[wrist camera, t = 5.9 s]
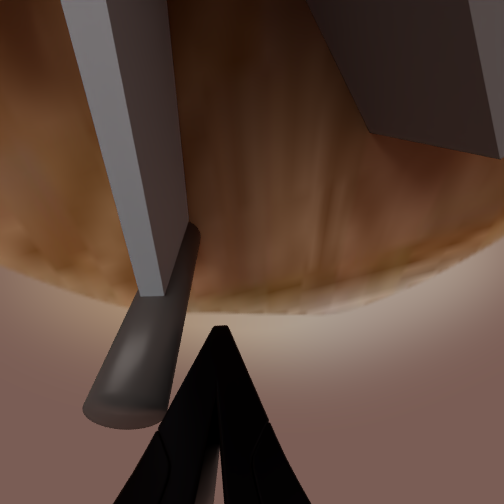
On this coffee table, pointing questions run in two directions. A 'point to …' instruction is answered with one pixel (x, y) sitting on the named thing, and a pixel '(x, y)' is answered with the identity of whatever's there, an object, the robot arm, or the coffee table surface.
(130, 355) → the side door
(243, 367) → the robot arm
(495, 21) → the block
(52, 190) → the coffee table surface
